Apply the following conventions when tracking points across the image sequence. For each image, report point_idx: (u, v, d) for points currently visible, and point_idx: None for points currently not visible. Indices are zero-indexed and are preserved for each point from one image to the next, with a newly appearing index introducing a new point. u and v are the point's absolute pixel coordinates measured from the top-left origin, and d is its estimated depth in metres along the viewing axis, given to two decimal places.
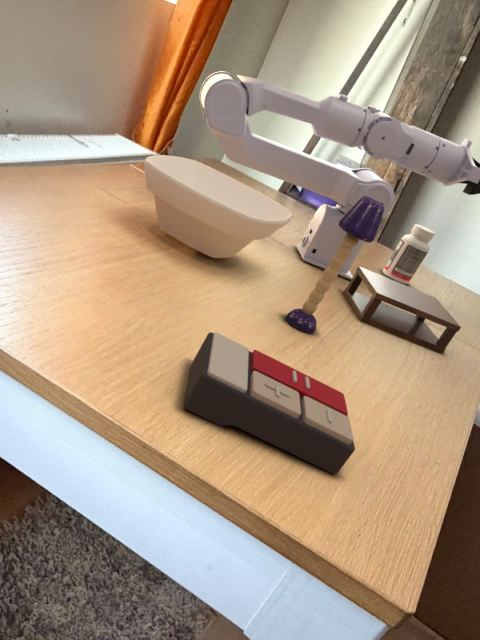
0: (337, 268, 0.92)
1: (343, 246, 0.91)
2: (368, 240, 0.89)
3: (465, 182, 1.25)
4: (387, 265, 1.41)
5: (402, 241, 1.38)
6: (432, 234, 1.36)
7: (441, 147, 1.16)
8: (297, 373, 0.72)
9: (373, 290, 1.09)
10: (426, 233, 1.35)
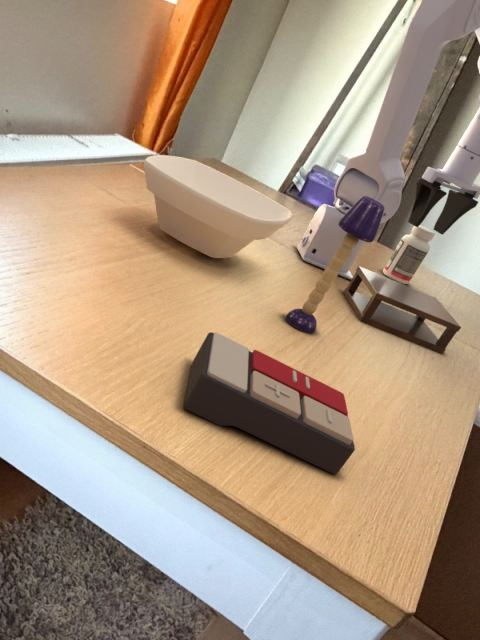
0: (337, 268, 0.92)
1: (343, 246, 0.91)
2: (368, 240, 0.89)
3: (432, 206, 1.31)
4: (387, 265, 1.41)
5: (402, 241, 1.38)
6: (432, 234, 1.36)
7: None
8: (297, 373, 0.72)
9: (373, 290, 1.09)
10: (426, 233, 1.35)
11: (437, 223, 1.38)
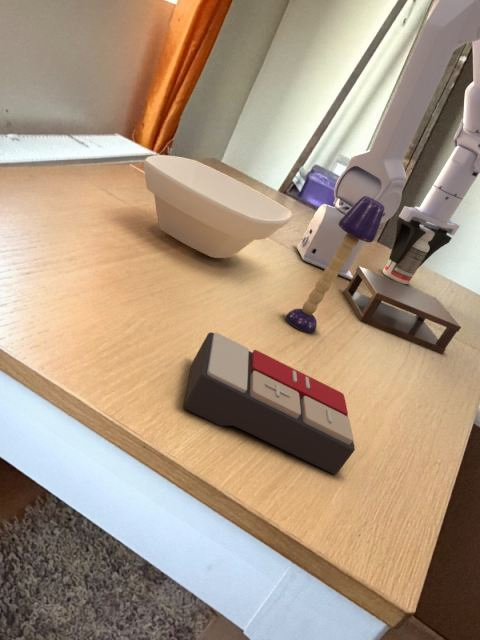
0: (337, 268, 0.92)
1: (343, 246, 0.91)
2: (368, 240, 0.89)
3: None
4: (387, 265, 1.41)
5: None
6: (432, 234, 1.36)
7: None
8: (297, 373, 0.72)
9: (373, 290, 1.09)
10: (425, 233, 1.35)
11: None
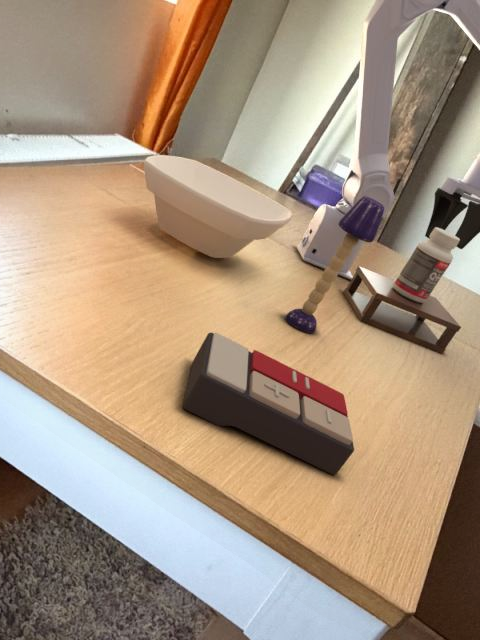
0: (337, 268, 0.92)
1: (343, 246, 0.91)
2: (368, 240, 0.89)
3: (452, 219, 1.21)
4: None
5: None
6: (443, 234, 1.06)
7: None
8: (297, 373, 0.72)
9: (373, 290, 1.09)
10: (435, 231, 1.07)
11: None
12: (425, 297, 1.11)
